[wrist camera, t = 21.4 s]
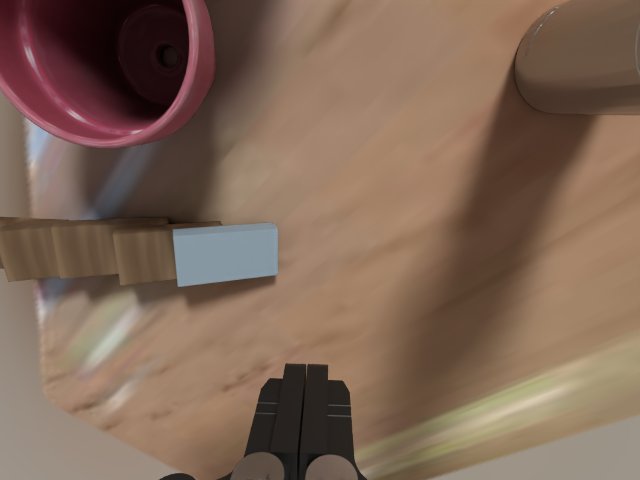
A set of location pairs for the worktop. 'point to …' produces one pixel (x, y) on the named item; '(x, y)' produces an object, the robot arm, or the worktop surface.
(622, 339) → the worktop surface
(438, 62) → the worktop surface
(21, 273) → the domino
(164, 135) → the plant pot
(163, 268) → the domino
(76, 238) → the domino
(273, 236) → the domino
